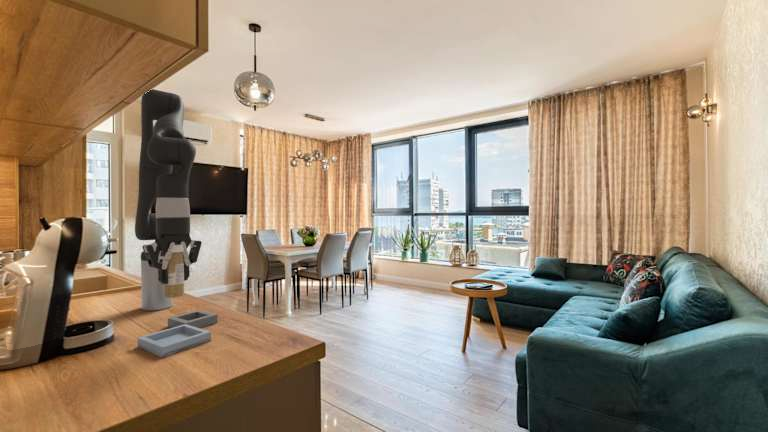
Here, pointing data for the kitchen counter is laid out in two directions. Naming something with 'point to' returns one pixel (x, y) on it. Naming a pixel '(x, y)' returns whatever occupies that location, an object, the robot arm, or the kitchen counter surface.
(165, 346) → the tray
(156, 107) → the robot arm
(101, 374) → the kitchen counter surface
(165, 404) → the kitchen counter surface
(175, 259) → the sprinkles bottle
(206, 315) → the holder
